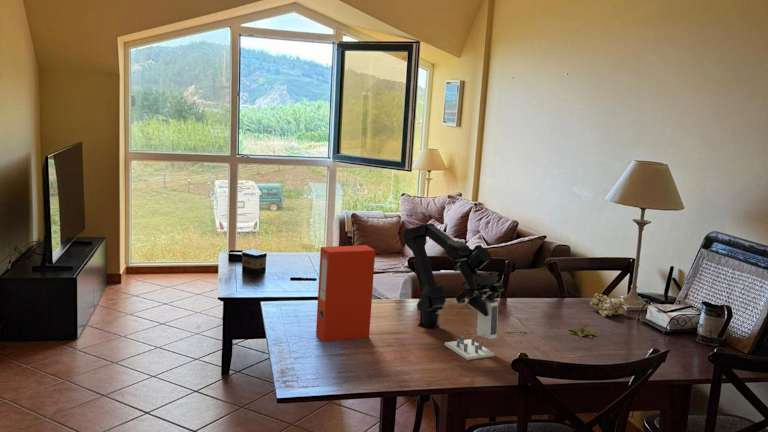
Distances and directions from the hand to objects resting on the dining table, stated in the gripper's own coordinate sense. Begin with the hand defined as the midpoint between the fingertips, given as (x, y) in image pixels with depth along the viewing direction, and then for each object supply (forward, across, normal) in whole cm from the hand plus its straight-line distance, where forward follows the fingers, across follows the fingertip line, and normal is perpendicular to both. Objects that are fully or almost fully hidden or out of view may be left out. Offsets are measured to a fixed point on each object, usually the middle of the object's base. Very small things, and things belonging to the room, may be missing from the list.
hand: (490, 315), depth 229 cm
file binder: (-16, -36, +35) cm, 53 cm away
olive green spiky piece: (+13, +49, +6) cm, 51 cm away
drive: (+5, 0, +6) cm, 8 cm away
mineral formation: (+5, +81, +14) cm, 83 cm away
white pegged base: (+7, -5, +12) cm, 15 cm away
